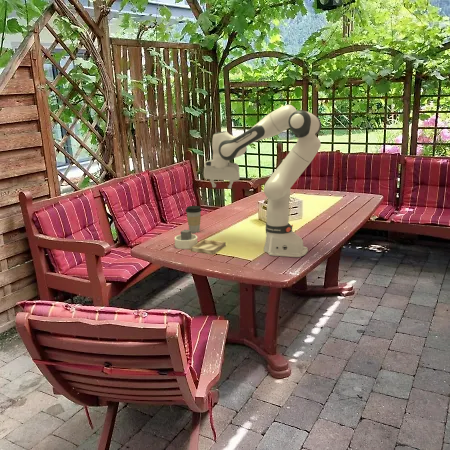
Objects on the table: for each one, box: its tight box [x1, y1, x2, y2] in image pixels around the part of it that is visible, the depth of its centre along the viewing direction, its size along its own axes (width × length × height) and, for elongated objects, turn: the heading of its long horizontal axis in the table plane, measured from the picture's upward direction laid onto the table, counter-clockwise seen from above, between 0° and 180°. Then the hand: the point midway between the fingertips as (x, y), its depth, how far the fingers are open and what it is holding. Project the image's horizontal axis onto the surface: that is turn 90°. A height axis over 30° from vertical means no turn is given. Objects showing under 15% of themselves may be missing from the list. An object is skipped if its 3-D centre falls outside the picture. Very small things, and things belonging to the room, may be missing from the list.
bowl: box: [174, 233, 199, 250], centre depth 252 cm, size 12×12×6 cm
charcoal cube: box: [180, 229, 192, 240], centre depth 251 cm, size 4×4×4 cm
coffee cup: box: [185, 205, 203, 234], centre depth 276 cm, size 9×9×15 cm
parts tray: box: [190, 239, 227, 255], centre depth 246 cm, size 13×14×3 cm
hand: (221, 187), depth 256 cm, fingers open, 8 cm apart
